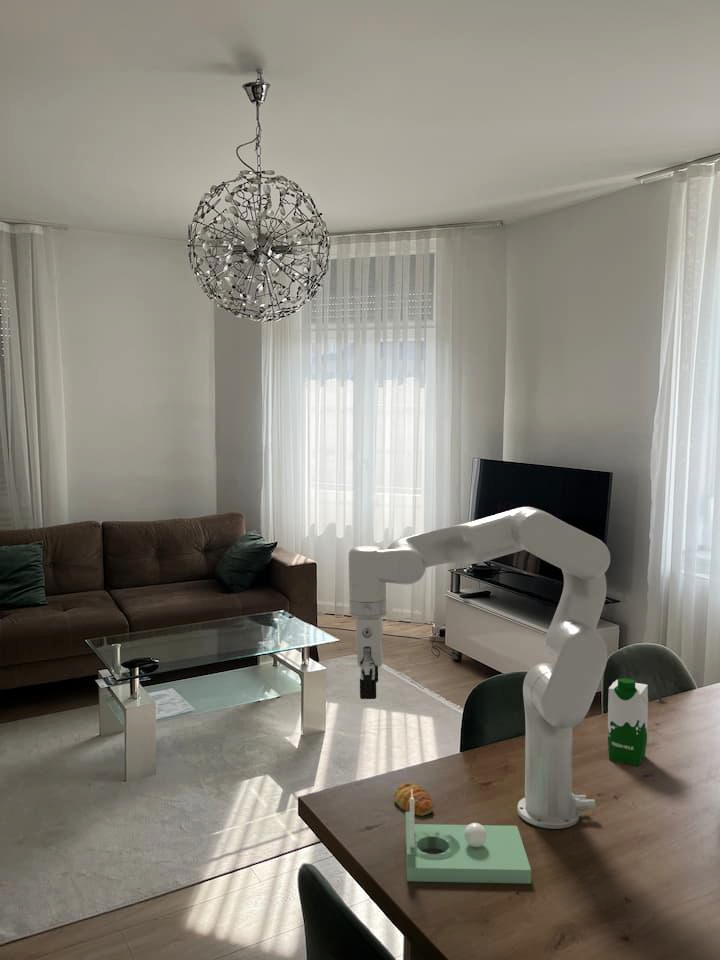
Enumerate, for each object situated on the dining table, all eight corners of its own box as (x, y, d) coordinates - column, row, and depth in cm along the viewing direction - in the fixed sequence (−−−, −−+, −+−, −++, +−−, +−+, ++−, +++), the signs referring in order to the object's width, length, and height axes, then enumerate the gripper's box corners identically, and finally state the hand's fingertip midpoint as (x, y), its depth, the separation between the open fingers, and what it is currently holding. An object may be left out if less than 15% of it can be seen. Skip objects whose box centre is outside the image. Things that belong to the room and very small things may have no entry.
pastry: (441, 812, 160) (441, 794, 159) (416, 821, 156) (415, 803, 156) (415, 794, 167) (415, 777, 167) (390, 802, 164) (390, 785, 164)
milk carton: (604, 760, 183) (605, 680, 182) (613, 747, 191) (614, 669, 190) (641, 769, 179) (643, 686, 177) (649, 755, 186) (651, 675, 185)
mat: (517, 838, 149) (517, 813, 149) (531, 883, 134) (531, 856, 134) (405, 836, 150) (405, 811, 149) (407, 881, 135) (406, 854, 135)
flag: (413, 860, 141) (413, 788, 140) (414, 874, 137) (414, 799, 136) (409, 860, 141) (409, 788, 140) (410, 874, 137) (409, 799, 136)
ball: (485, 840, 144) (485, 818, 143) (488, 852, 139) (488, 830, 139) (463, 839, 144) (463, 818, 144) (465, 851, 140) (465, 830, 139)
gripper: (385, 618, 144) (386, 705, 145) (387, 597, 161) (388, 676, 162) (346, 618, 144) (347, 705, 146) (352, 598, 162) (354, 676, 163)
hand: (369, 690), depth 154 cm, fingers open, 9 cm apart
